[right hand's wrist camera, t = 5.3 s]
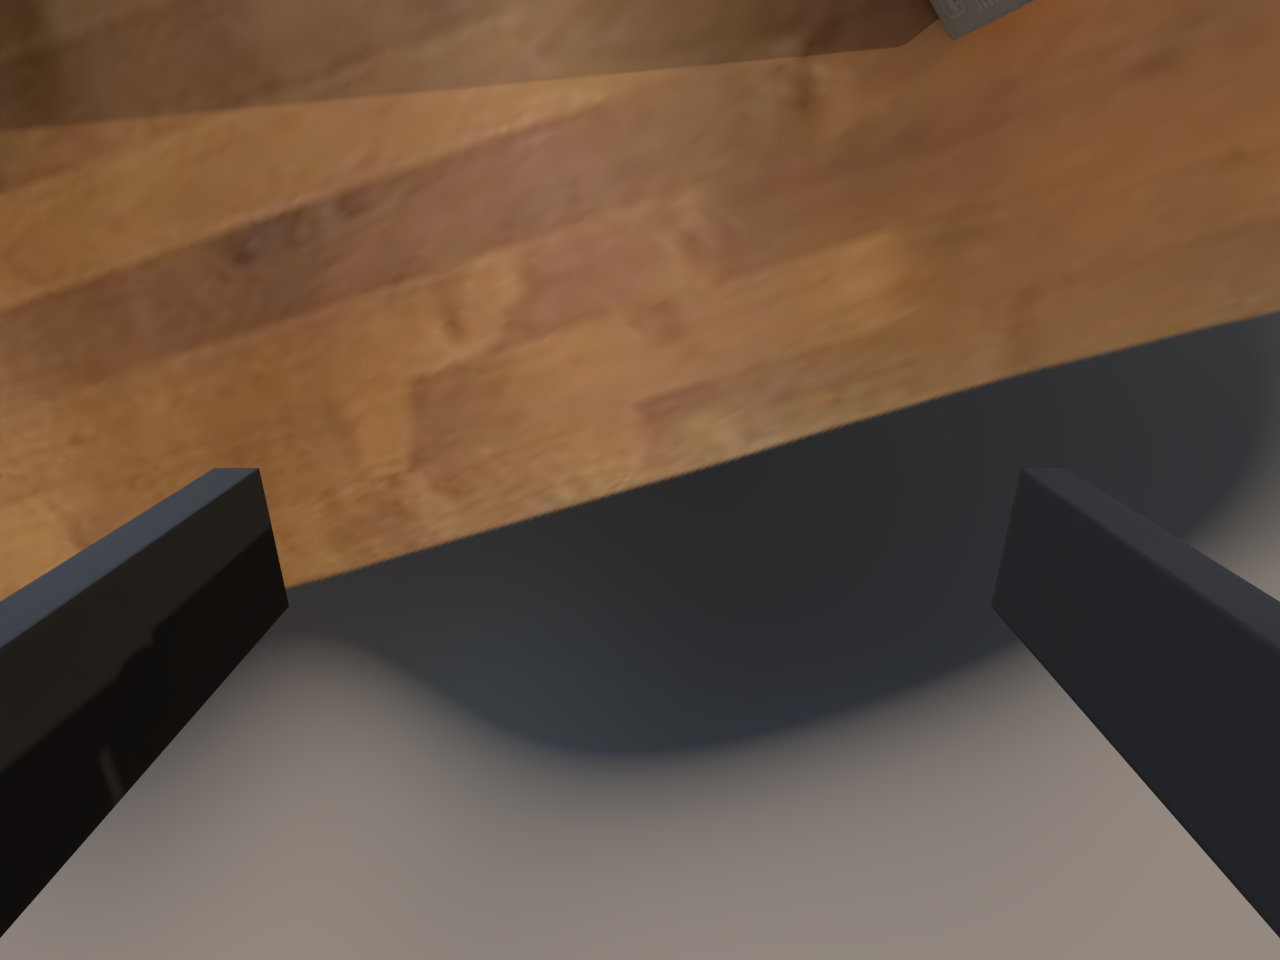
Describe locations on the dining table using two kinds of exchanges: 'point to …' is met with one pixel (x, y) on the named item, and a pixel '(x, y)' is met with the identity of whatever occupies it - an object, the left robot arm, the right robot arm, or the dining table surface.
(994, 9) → the hard drive box
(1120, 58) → the dining table surface
